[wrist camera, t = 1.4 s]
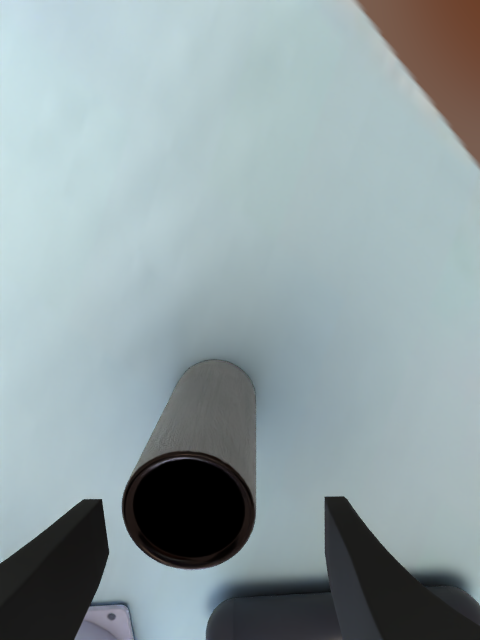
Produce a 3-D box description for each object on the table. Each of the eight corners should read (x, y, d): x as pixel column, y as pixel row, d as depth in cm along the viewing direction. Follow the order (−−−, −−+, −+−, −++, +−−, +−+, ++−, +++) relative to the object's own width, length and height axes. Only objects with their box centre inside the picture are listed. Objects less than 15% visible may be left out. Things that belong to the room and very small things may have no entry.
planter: (159, 386, 25) (93, 495, 15) (225, 343, 24) (204, 425, 14) (205, 448, 26) (172, 593, 15) (271, 408, 25) (282, 531, 15)
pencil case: (212, 633, 28) (205, 698, 24) (205, 585, 27) (197, 643, 24) (470, 619, 27) (505, 684, 23) (470, 569, 27) (507, 627, 23)
